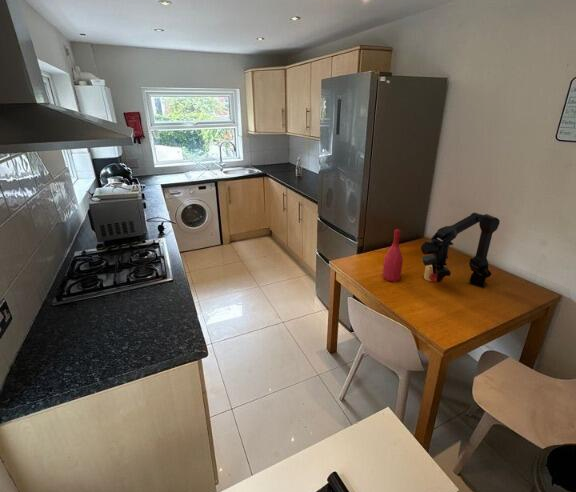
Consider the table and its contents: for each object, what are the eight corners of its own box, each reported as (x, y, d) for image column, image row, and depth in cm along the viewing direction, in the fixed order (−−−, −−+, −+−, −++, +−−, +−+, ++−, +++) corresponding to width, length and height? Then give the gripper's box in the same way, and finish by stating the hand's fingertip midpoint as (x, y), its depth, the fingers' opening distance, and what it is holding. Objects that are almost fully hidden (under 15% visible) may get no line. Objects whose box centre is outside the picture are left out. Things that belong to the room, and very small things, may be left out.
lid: (427, 279, 160) (428, 276, 160) (431, 274, 165) (431, 271, 165) (440, 284, 156) (441, 280, 156) (444, 279, 161) (445, 275, 160)
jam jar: (436, 278, 172) (439, 264, 170) (433, 282, 168) (436, 268, 165) (425, 274, 176) (428, 261, 173) (422, 278, 172) (424, 265, 169)
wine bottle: (402, 282, 168) (410, 232, 157) (384, 282, 168) (391, 232, 157) (396, 273, 177) (403, 226, 166) (380, 273, 177) (386, 226, 167)
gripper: (420, 243, 165) (416, 269, 171) (429, 259, 148) (424, 286, 153) (442, 245, 163) (437, 270, 169) (453, 261, 146) (447, 288, 152)
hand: (436, 278), depth 161 cm, fingers closed on lid, 6 cm apart
